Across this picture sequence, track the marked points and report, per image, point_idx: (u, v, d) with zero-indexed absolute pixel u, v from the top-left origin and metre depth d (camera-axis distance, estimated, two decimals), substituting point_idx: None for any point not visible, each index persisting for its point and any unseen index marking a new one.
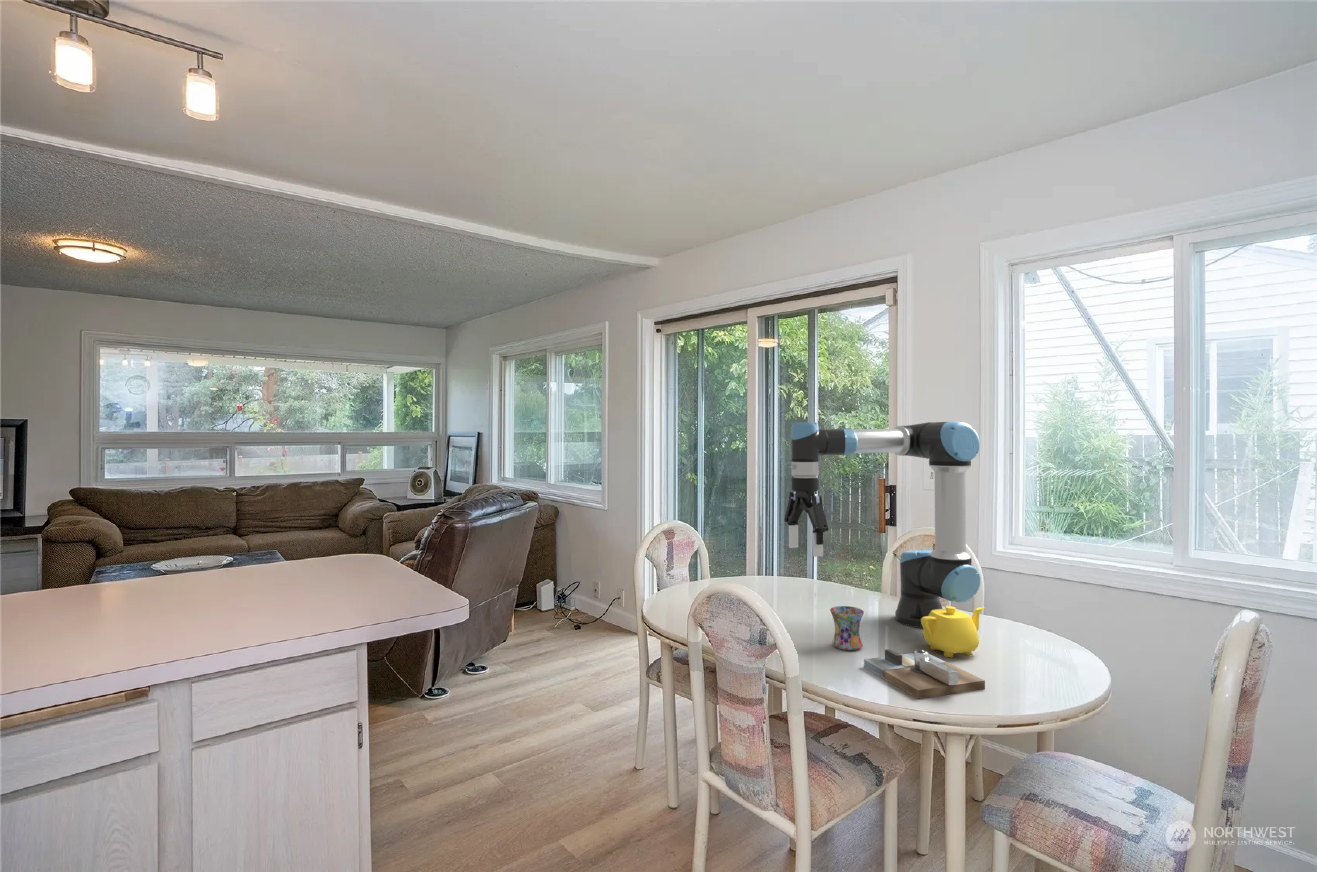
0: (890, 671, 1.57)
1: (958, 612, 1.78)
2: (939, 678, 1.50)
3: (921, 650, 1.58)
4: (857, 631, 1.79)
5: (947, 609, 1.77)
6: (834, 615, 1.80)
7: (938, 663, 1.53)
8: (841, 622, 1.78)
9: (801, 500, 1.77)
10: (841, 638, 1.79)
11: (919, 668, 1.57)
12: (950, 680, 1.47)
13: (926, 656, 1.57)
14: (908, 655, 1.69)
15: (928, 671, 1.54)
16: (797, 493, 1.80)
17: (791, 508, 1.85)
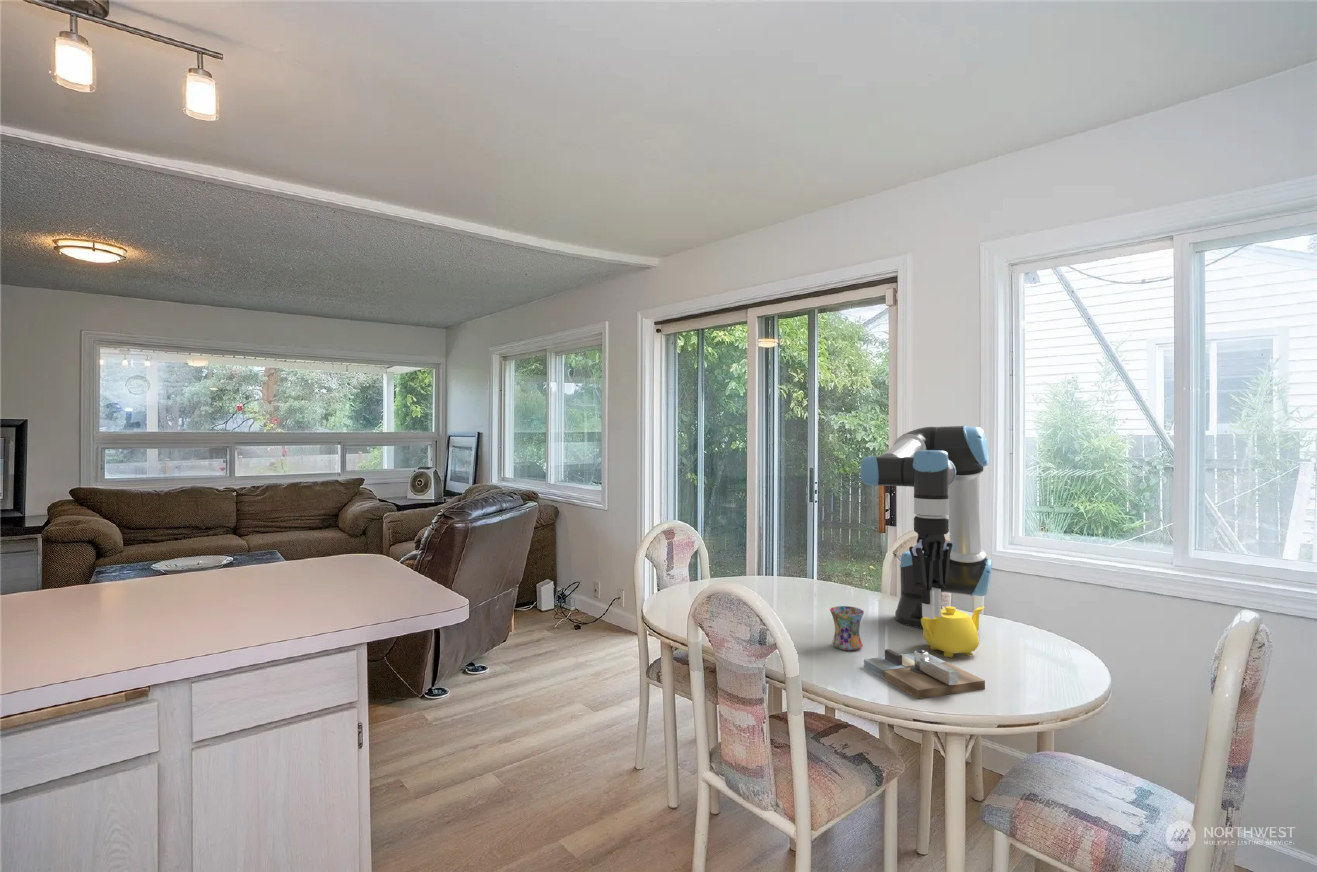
0: (890, 671, 1.57)
1: (958, 612, 1.78)
2: (939, 678, 1.50)
3: (921, 650, 1.58)
4: (857, 631, 1.79)
5: (947, 609, 1.77)
6: (834, 615, 1.80)
7: (938, 663, 1.53)
8: (841, 622, 1.78)
9: None
10: (841, 638, 1.79)
11: (919, 668, 1.57)
12: (950, 680, 1.47)
13: (926, 656, 1.57)
14: (908, 655, 1.69)
15: (928, 671, 1.54)
16: None
17: None
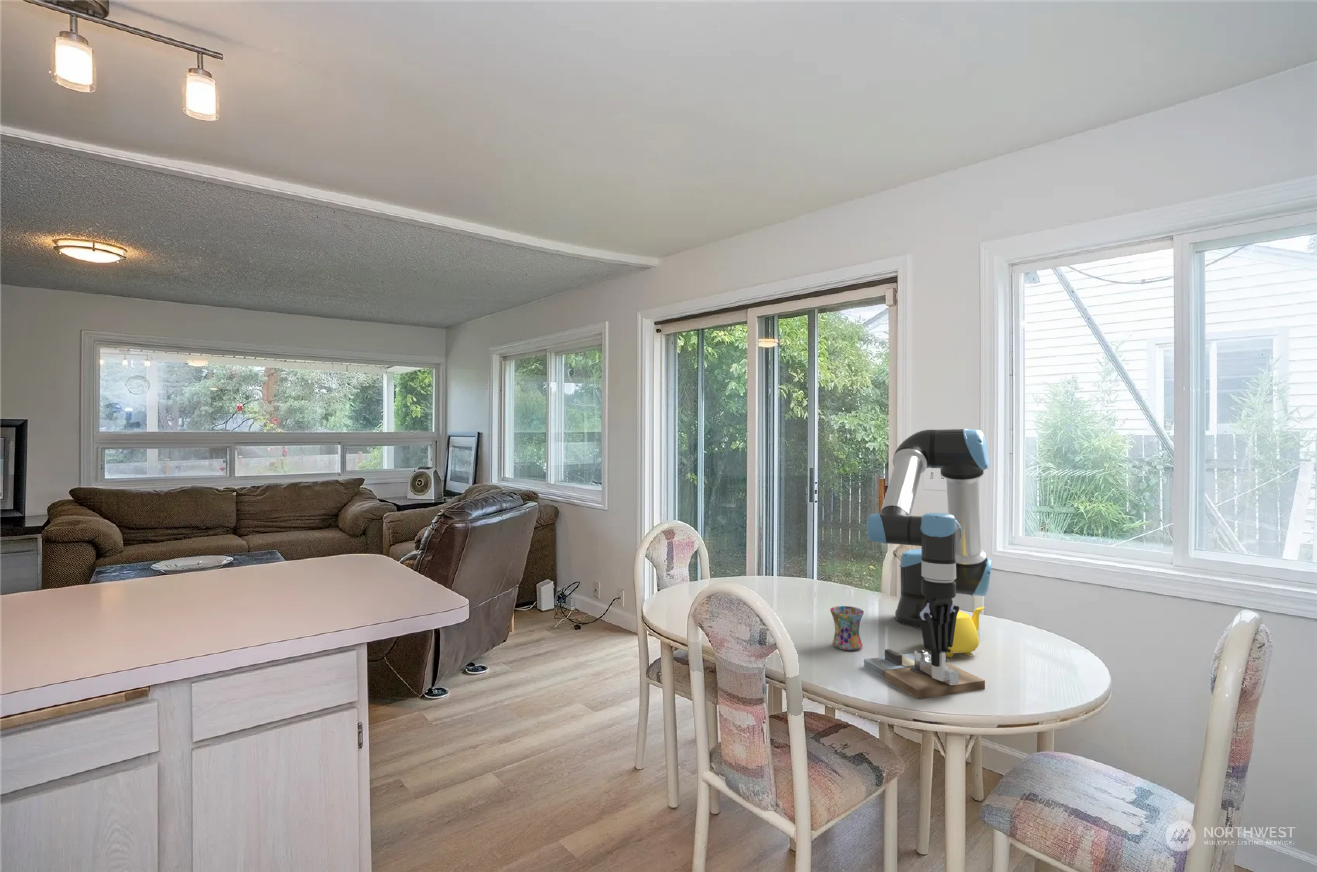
0: (890, 671, 1.57)
1: (958, 612, 1.78)
2: None
3: (921, 650, 1.58)
4: (857, 631, 1.79)
5: None
6: (834, 615, 1.80)
7: None
8: (841, 622, 1.78)
9: None
10: (841, 638, 1.79)
11: (919, 668, 1.57)
12: (951, 680, 1.47)
13: (926, 656, 1.57)
14: (908, 655, 1.69)
15: (928, 671, 1.54)
16: None
17: None
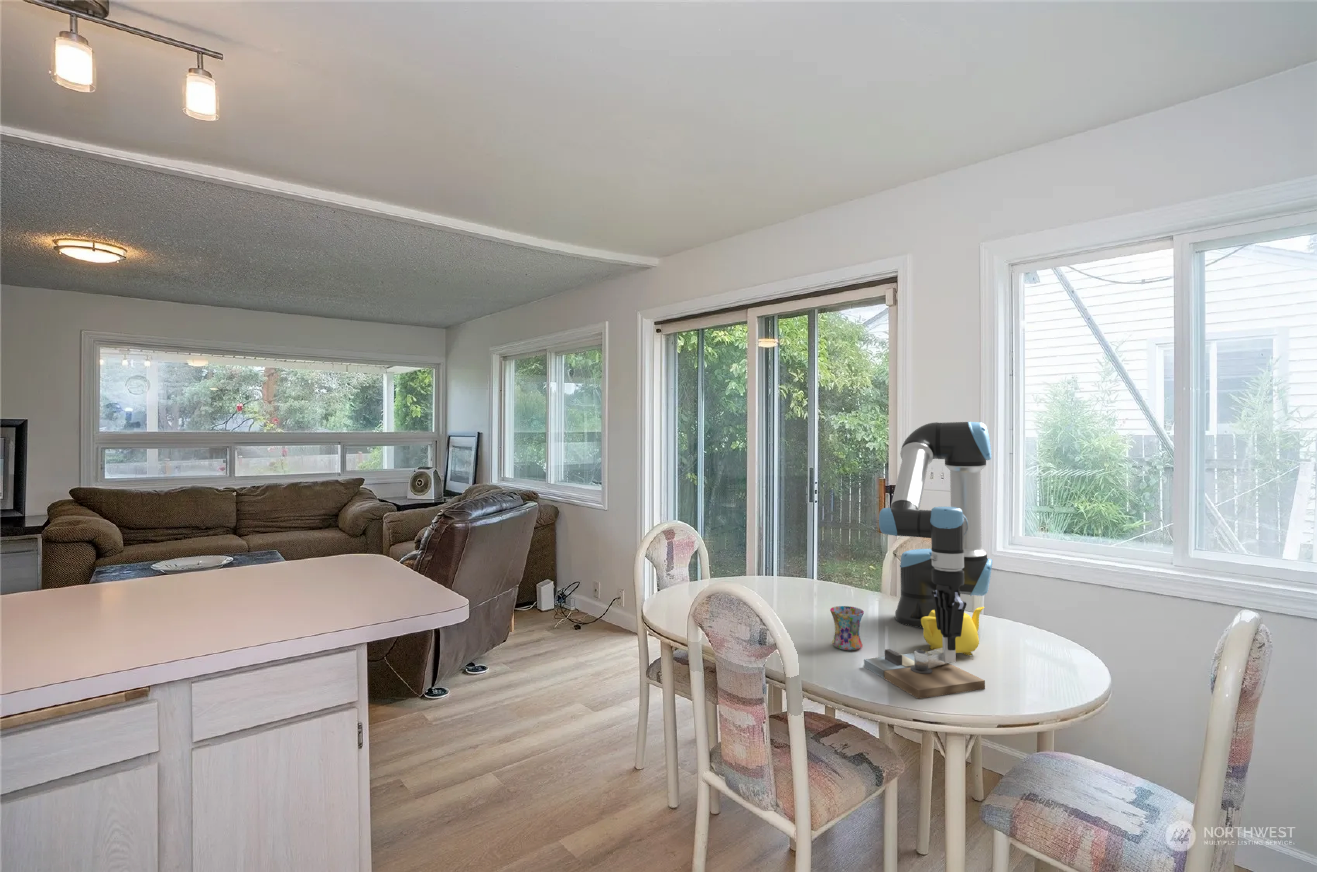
0: (890, 671, 1.57)
1: None
2: None
3: (921, 650, 1.58)
4: (857, 631, 1.79)
5: None
6: (834, 615, 1.80)
7: (934, 651, 1.61)
8: (841, 622, 1.78)
9: (943, 595, 1.58)
10: (841, 638, 1.79)
11: (928, 667, 1.57)
12: None
13: None
14: (908, 655, 1.69)
15: (936, 663, 1.59)
16: None
17: (939, 609, 1.63)
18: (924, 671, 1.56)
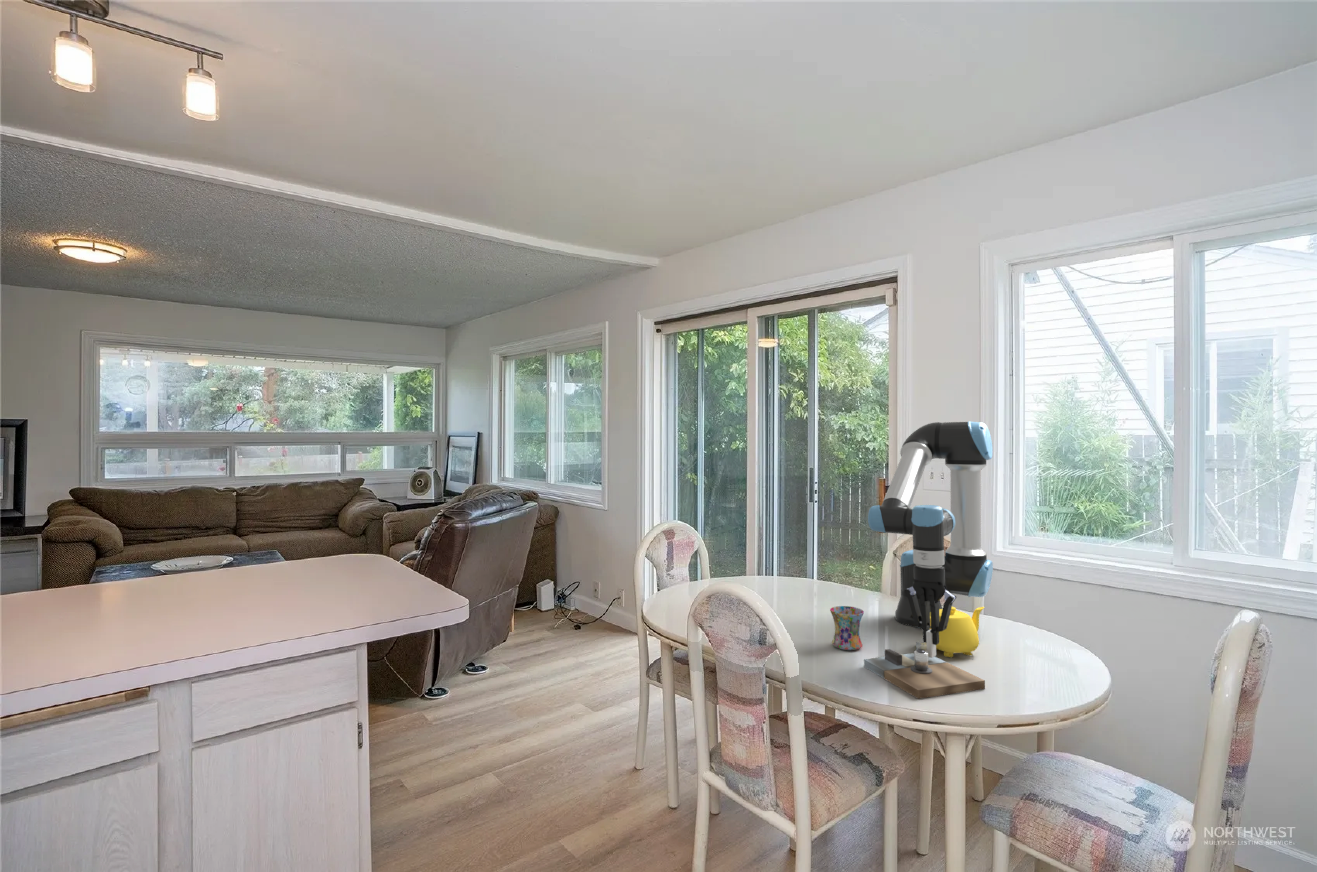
0: (890, 671, 1.57)
1: (958, 612, 1.78)
2: None
3: (921, 650, 1.58)
4: (857, 631, 1.79)
5: None
6: (834, 615, 1.80)
7: (919, 648, 1.63)
8: (841, 622, 1.78)
9: (931, 592, 1.62)
10: (841, 638, 1.79)
11: None
12: None
13: None
14: (908, 655, 1.69)
15: None
16: (915, 582, 1.66)
17: (916, 606, 1.66)
18: (924, 671, 1.56)
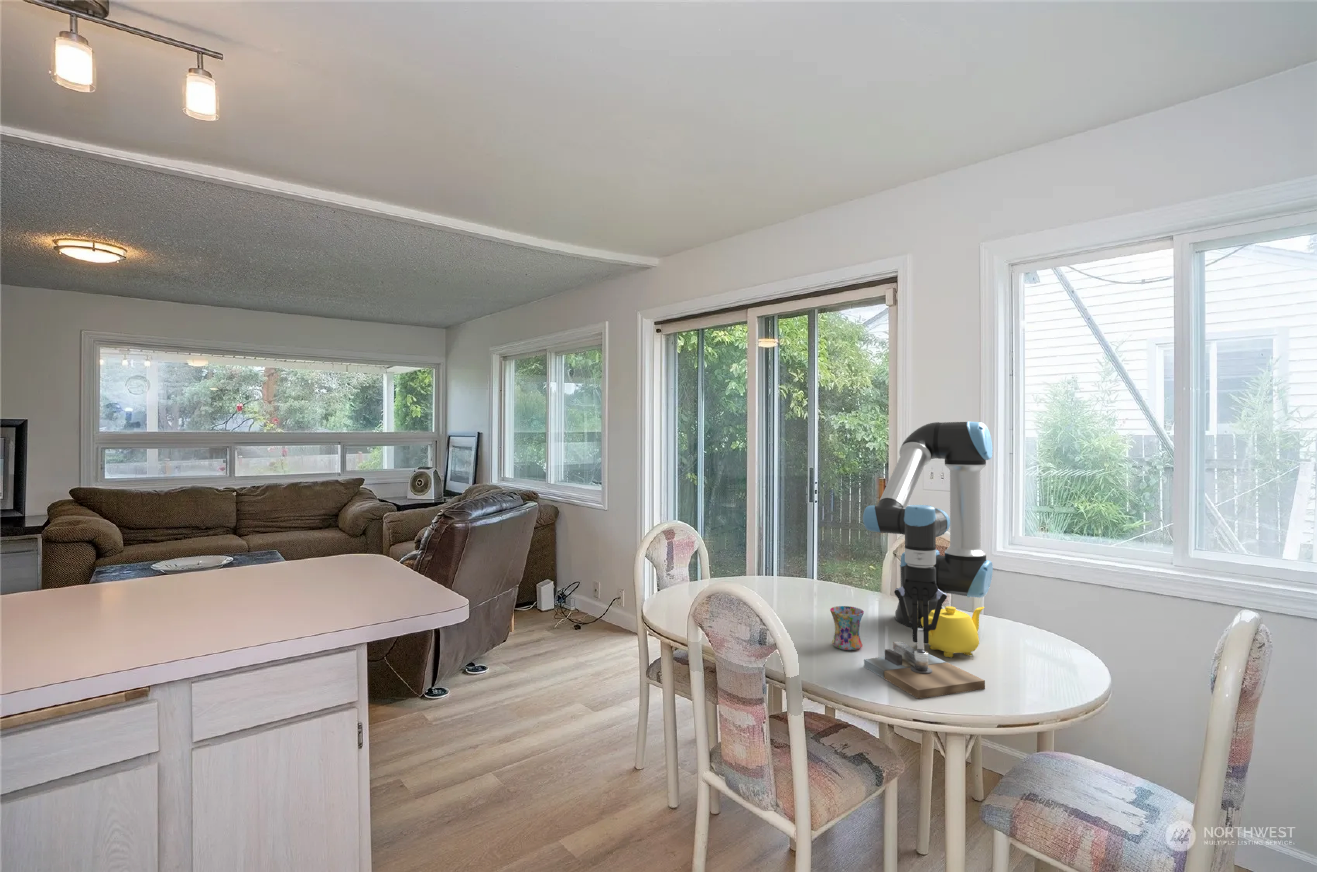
0: (890, 671, 1.57)
1: (958, 612, 1.78)
2: None
3: (921, 650, 1.58)
4: (857, 631, 1.79)
5: (947, 609, 1.77)
6: (834, 615, 1.80)
7: (907, 648, 1.63)
8: (841, 622, 1.78)
9: (925, 592, 1.62)
10: (841, 638, 1.79)
11: None
12: None
13: None
14: None
15: None
16: (907, 582, 1.65)
17: (905, 607, 1.66)
18: (924, 671, 1.56)
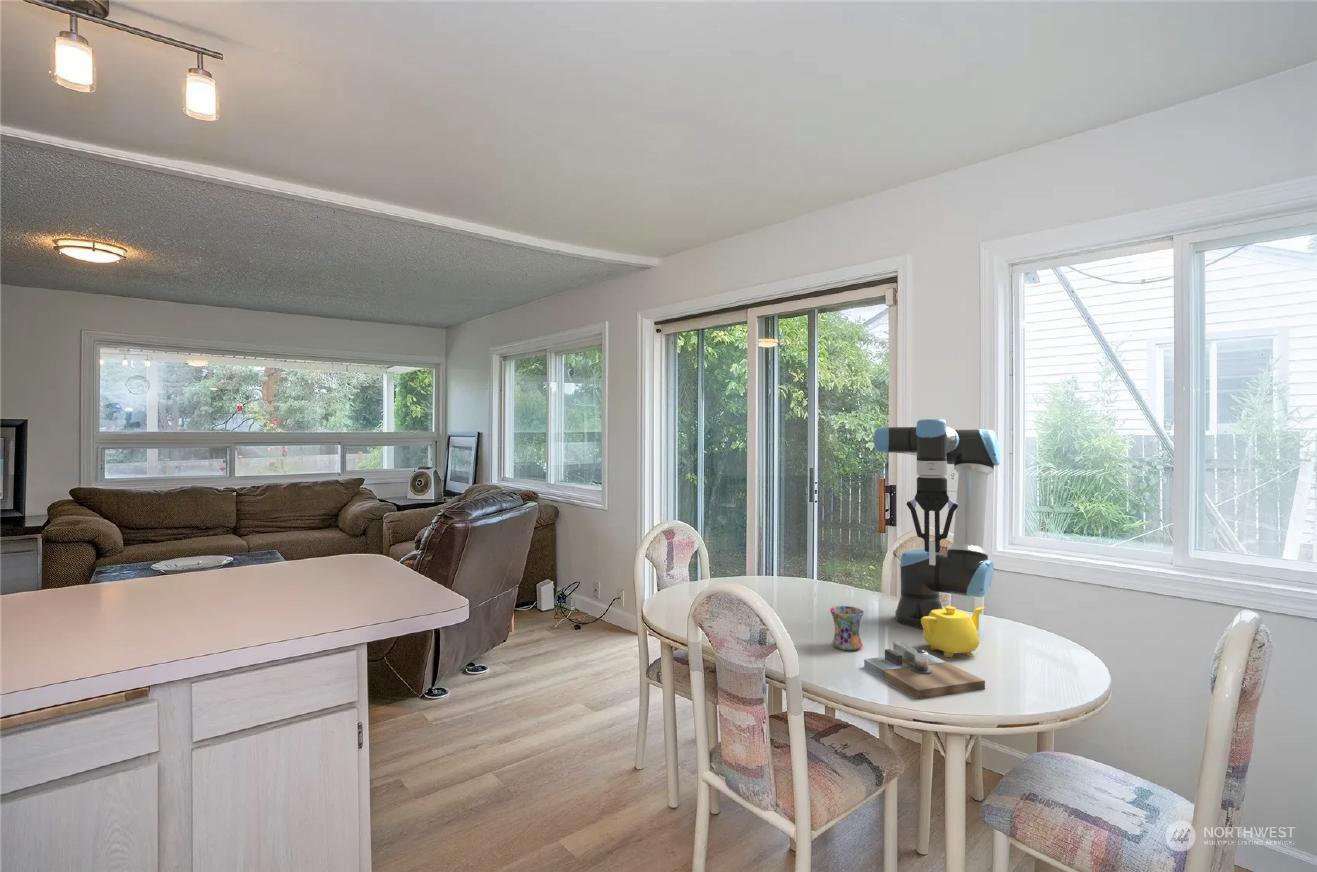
0: (890, 671, 1.57)
1: (958, 612, 1.78)
2: None
3: (921, 650, 1.58)
4: (857, 631, 1.79)
5: (947, 609, 1.77)
6: (834, 615, 1.80)
7: (907, 648, 1.63)
8: (841, 622, 1.78)
9: (937, 501, 1.67)
10: (841, 638, 1.79)
11: None
12: None
13: None
14: None
15: None
16: (919, 493, 1.70)
17: (917, 518, 1.71)
18: (924, 671, 1.56)
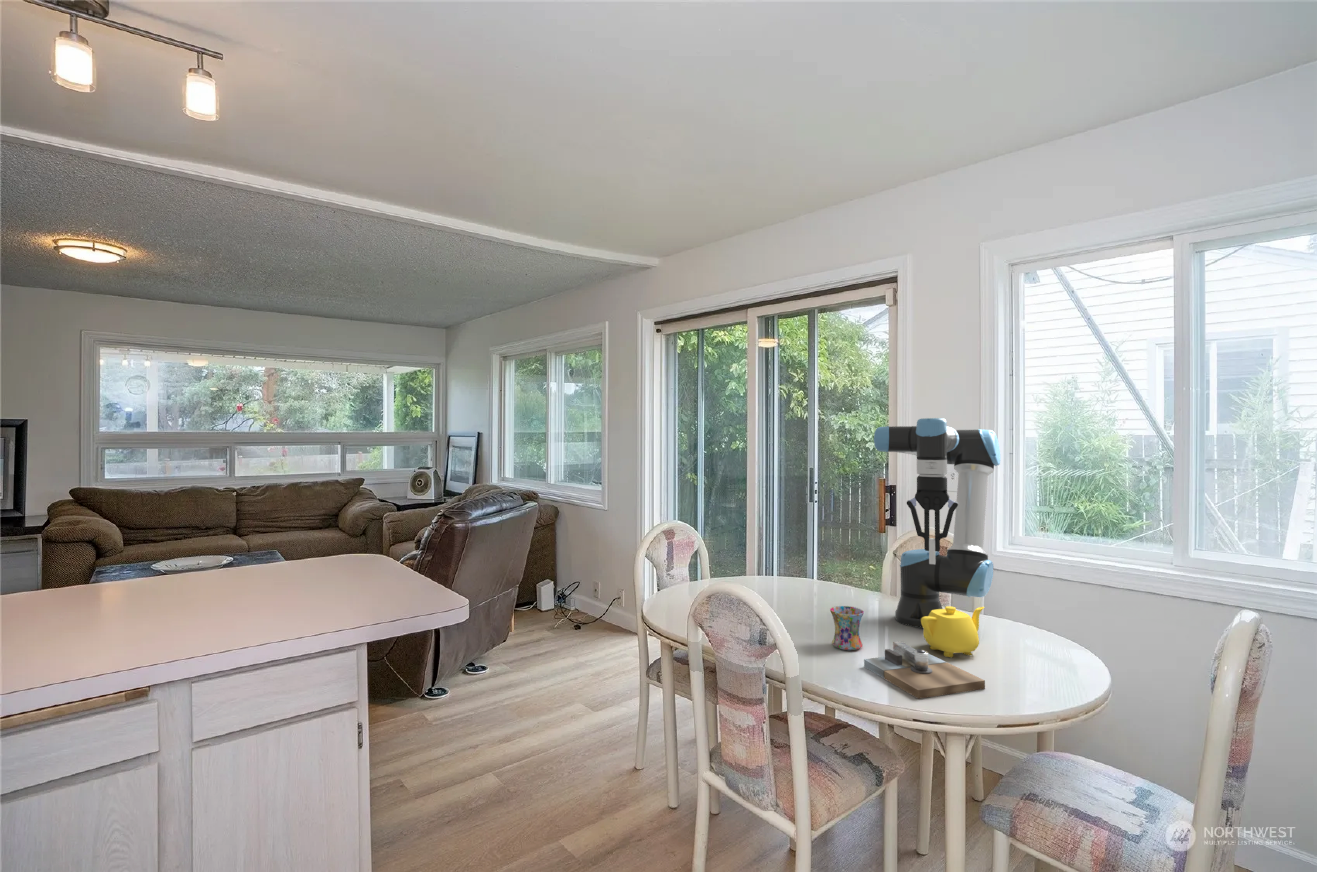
0: (890, 671, 1.57)
1: (958, 612, 1.78)
2: None
3: (921, 650, 1.58)
4: (857, 631, 1.79)
5: (947, 609, 1.77)
6: (834, 615, 1.80)
7: (907, 648, 1.63)
8: (841, 622, 1.78)
9: (937, 500, 1.67)
10: (841, 638, 1.79)
11: None
12: None
13: None
14: None
15: None
16: (919, 492, 1.70)
17: (917, 517, 1.71)
18: (924, 671, 1.56)
